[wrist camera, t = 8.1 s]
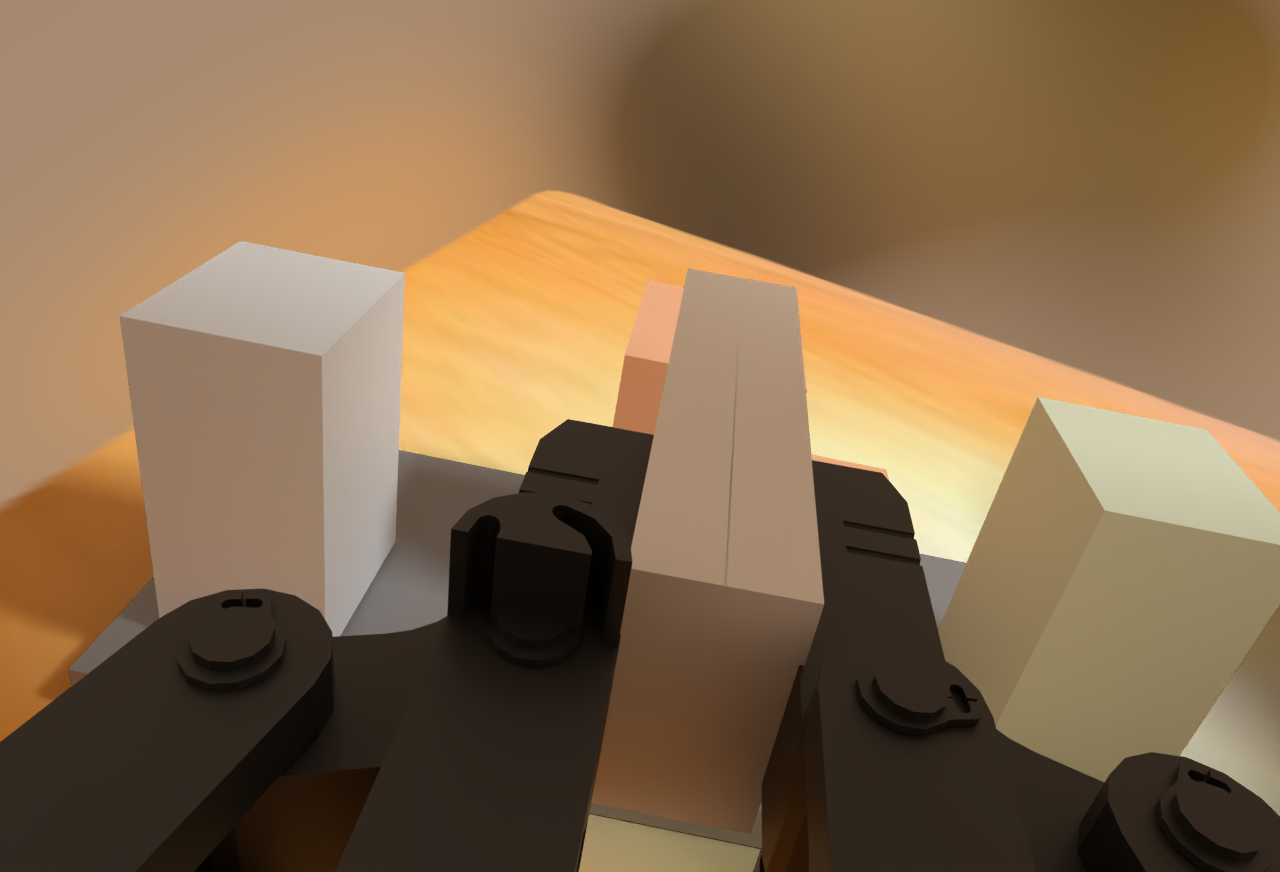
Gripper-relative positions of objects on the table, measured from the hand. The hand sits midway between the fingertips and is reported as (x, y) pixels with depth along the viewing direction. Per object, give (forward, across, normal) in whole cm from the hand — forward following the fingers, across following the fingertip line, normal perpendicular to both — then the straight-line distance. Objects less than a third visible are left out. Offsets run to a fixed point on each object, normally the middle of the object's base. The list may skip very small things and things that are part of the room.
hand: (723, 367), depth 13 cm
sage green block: (+10, +12, -16) cm, 22 cm away
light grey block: (+10, -12, -15) cm, 22 cm away
